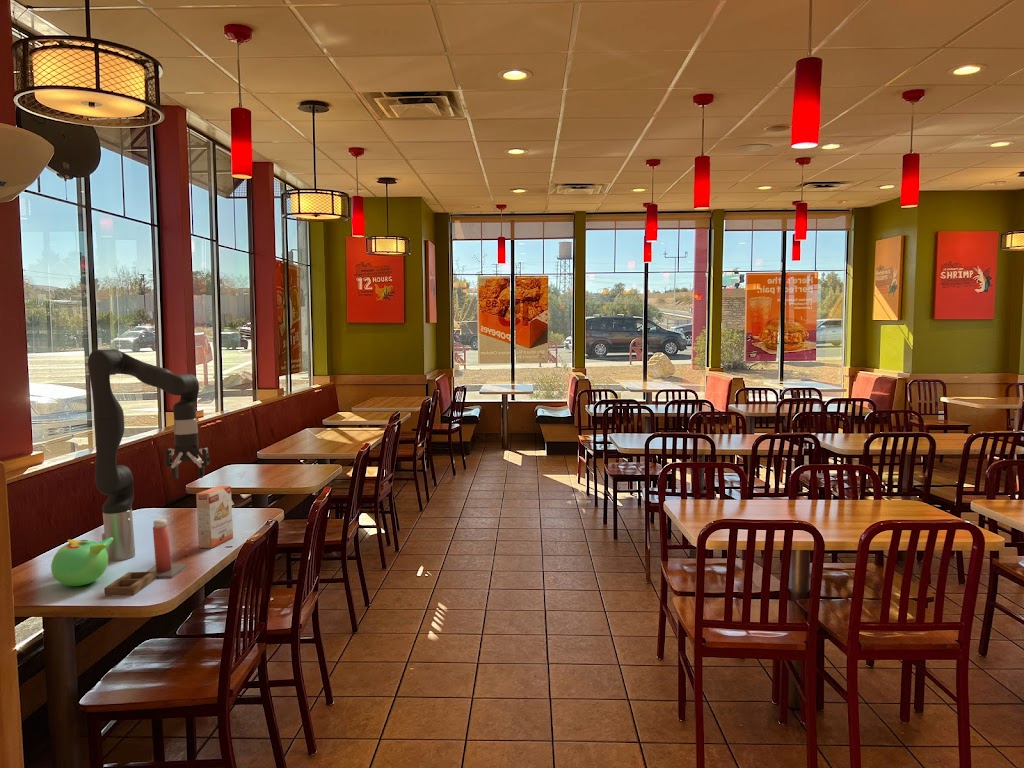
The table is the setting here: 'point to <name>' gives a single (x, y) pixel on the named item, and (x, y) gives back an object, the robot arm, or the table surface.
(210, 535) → the cracker box
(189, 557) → the table surface
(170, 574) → the slate tile
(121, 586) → the caddy
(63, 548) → the toy bird
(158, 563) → the pepper mill
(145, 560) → the table surface
